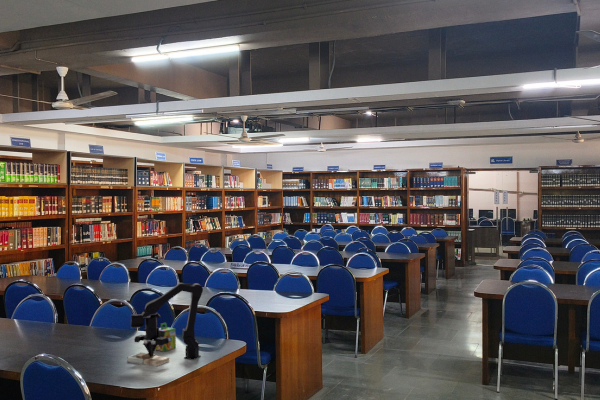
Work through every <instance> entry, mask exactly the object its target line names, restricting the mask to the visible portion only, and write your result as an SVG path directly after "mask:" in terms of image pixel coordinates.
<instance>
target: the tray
mask: <svg viewBox="0 0 600 400" xmlns="http://www.w3.org/2000/svg"><path fill="white" fill-rule="evenodd" d="M139 354H148V352H142V351H141V352H138V353H136V354H132V355H129V356H126V360H127V361H126V362H127V363H132V364H140V365H145V364H144V361H143V359H139V358H136V355H139ZM153 355H154V356H157V355H156V354H155V353H154V354H153Z"/></svg>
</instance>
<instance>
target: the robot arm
mask: <svg viewBox="0 0 600 400" xmlns="http://www.w3.org/2000/svg"><path fill="white" fill-rule="evenodd" d="M181 292H186V293H190V303H189V304H190V305H189V309H188V310H189V311H188V317H187V322H186V327H185V328H182V334H181V338H182V341H183V343H184V344H185V345H186V346H185V352H184V353H185V356H184V357H183V358H184V359H187V360H196V359H199V358H201V355H200V347H199V345H200V343H199V342H198V340H197V339H196V336H195V334H196V333H195V325H196V319H197V312H198V306H199V301H200V299H201V298H202V295H203V292H204V289H203V286H202V285H201V284H200V283H198V282H197V283H196V282H195V283H184V282H178V283H177V284H176V285H175V286H173V287H172V288H171V289H169V290H168V291H167V292H166V291H165V293H164V294H163V295H161V296H159V297H157V298H155V299H152V300H150V301H148V302H147V303H146V304H145V307H144V310H143V311H142V313H141V314H131V315H130V329H139V328H142V327H144V326H145V328H143V332H145V334H139V335H137V336H135V337H134V338H133V339H134V343H140V342H141V341H143V343H142V345H144V348H145V350H146V351H147V353H149V355H150V356H151V357H152V356H153V354H155V351H156V350H155V348H156V346H157V345H164V344H167V343H169V339H168V338H166V337H164V335H165V332H164V331H160V330H159V328H160V327H158V319H159V318H161V315H160V314H159V313H158V311H159V310H160V309H161V308H162V306H163V305H164V304H165V303H167V302H168V301H170V300H171V299H173V298H174V297H176V296H177V295H178V294H180V293H181ZM159 337H161V338H159ZM157 338H158V339H157Z"/></svg>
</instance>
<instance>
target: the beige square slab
mask: <svg viewBox="0 0 600 400" xmlns="http://www.w3.org/2000/svg"><path fill="white" fill-rule="evenodd" d="M169 362H170V357H168V356H161V355H156V356H154V357H151V358H148V359H146V360H144V364H143V365H149V366H155V367H158V366H161V365H164V364H166V363H169Z"/></svg>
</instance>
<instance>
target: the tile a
mask: <svg viewBox="0 0 600 400" xmlns="http://www.w3.org/2000/svg"><path fill="white" fill-rule="evenodd" d="M147 353H148V352H147ZM152 357H154V355H153V356H152ZM142 358H143V360H146V359H148V358H151V356H150V355H149V353H148V354H145V355H142Z"/></svg>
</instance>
